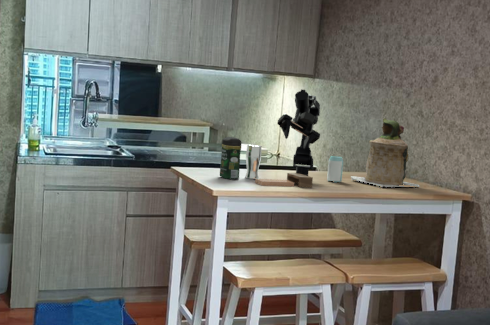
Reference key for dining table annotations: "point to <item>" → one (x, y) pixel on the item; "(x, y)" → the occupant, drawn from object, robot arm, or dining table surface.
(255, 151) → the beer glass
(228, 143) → the coffee jar
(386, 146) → the cookie jar
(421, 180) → the dining table surface
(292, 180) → the brown rectangular block
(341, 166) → the white teal canister
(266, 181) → the tile
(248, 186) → the dining table surface
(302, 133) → the robot arm
